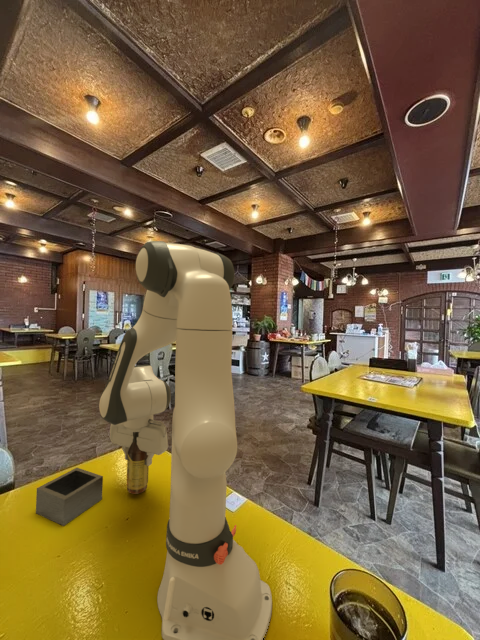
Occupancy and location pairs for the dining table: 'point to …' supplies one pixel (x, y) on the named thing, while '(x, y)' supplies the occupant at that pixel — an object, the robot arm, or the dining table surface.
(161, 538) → the dining table surface
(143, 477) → the sauce bottle
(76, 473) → the condiment sleeve
